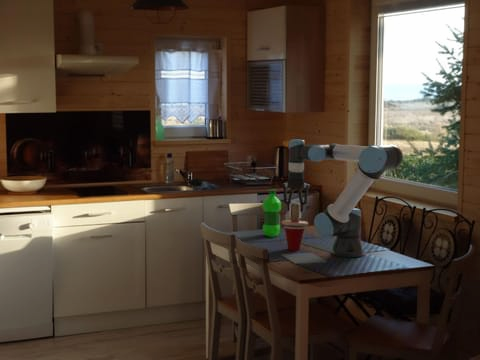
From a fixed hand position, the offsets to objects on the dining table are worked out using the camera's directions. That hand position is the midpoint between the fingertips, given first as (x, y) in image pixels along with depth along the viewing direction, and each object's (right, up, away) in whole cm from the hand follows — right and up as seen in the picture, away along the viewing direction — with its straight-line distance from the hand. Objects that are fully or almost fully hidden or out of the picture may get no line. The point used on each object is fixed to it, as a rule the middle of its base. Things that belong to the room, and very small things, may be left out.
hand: (295, 217), depth 383 cm
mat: (+3, -19, -17) cm, 25 cm away
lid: (0, -3, 0) cm, 3 cm away
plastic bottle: (-10, -12, +34) cm, 37 cm away
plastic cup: (0, -16, +2) cm, 16 cm away
